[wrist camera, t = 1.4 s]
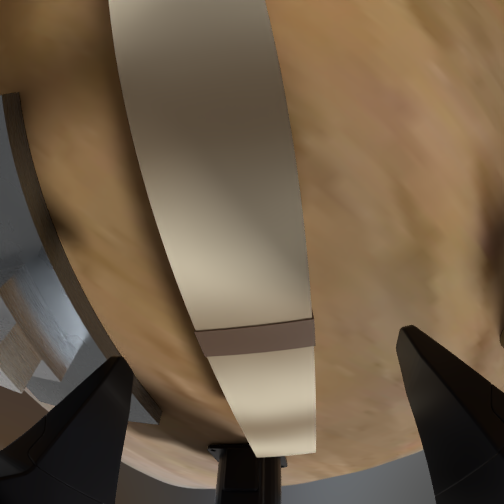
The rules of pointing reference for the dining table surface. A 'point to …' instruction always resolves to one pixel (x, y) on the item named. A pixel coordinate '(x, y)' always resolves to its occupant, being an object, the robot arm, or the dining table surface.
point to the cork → (502, 338)
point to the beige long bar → (226, 200)
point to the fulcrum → (43, 289)
